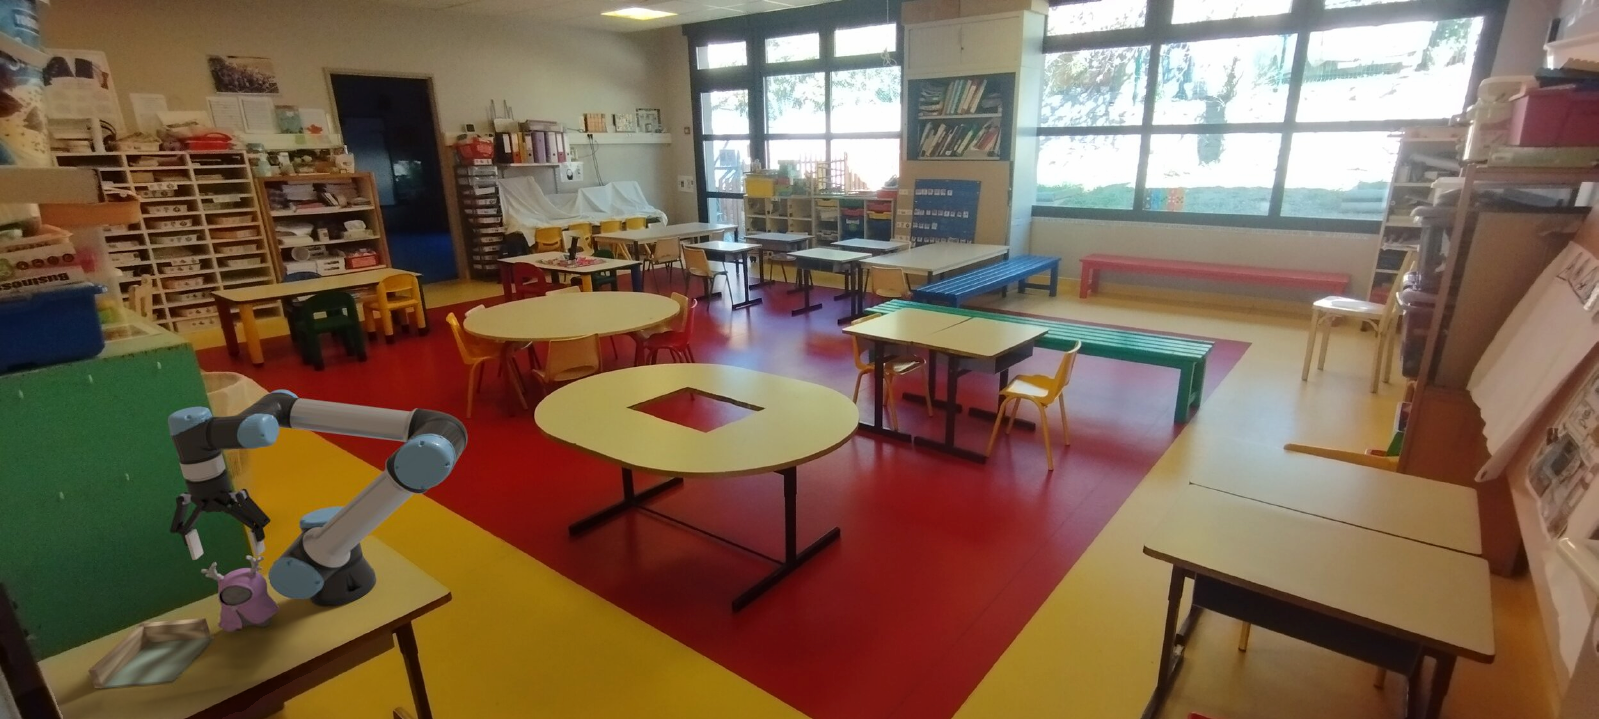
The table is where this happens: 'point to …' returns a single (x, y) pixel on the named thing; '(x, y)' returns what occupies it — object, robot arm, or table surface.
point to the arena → (152, 654)
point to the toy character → (243, 597)
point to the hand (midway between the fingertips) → (229, 554)
